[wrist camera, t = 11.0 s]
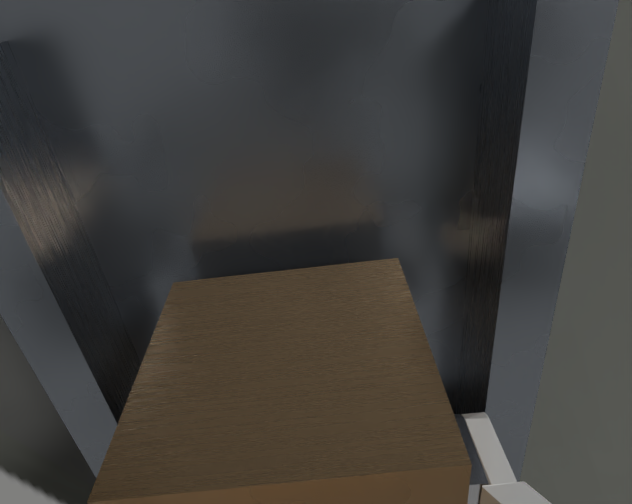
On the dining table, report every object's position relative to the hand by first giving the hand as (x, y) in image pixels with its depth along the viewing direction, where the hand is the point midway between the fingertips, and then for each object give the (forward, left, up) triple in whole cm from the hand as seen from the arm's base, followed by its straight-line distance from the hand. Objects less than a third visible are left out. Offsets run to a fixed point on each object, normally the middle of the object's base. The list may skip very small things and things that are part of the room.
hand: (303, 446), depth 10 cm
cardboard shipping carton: (0, 0, -2) cm, 2 cm away
